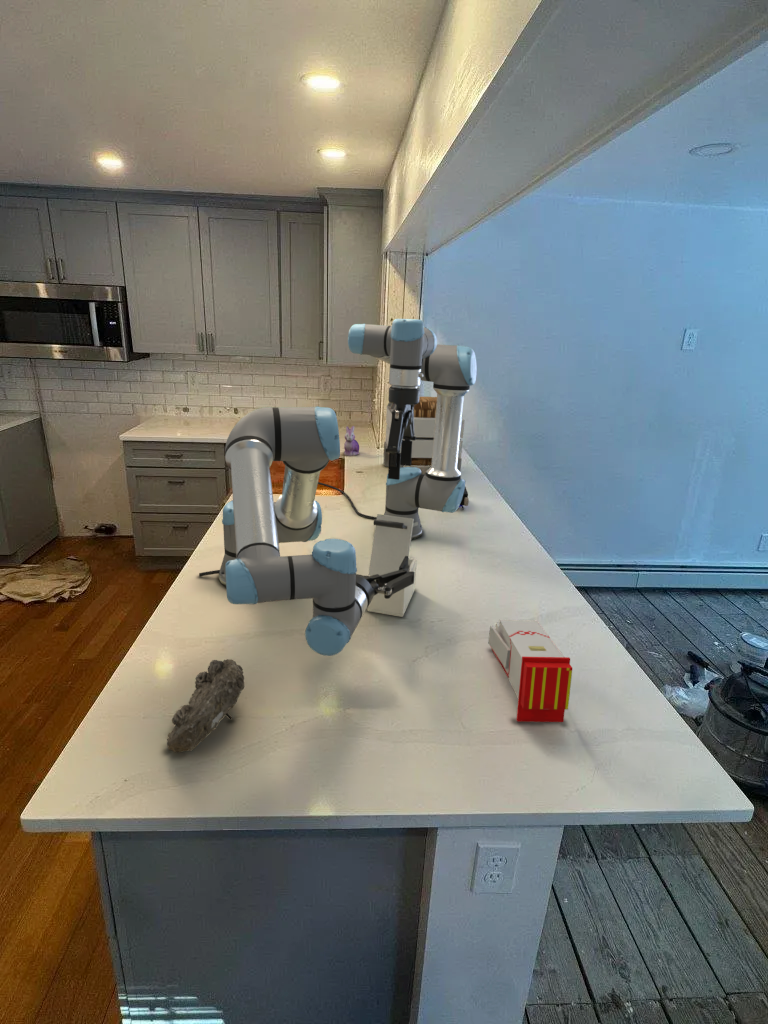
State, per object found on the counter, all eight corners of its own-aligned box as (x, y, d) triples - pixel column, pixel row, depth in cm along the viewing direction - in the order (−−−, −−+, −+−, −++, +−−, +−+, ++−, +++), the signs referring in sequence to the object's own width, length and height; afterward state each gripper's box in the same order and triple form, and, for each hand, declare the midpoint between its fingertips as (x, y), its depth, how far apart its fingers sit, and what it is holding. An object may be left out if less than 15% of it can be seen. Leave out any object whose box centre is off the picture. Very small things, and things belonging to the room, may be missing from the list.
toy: (535, 605, 135) (581, 664, 106) (530, 657, 138) (574, 728, 108) (484, 604, 135) (517, 662, 105) (480, 656, 137) (511, 727, 108)
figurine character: (468, 514, 225) (463, 498, 239) (470, 497, 222) (465, 482, 235) (451, 514, 225) (447, 498, 238) (453, 497, 222) (449, 481, 235)
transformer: (382, 463, 289) (386, 382, 275) (445, 464, 293) (451, 384, 279) (390, 482, 257) (394, 392, 243) (460, 483, 261) (468, 394, 247)
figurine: (347, 456, 298) (347, 428, 293) (339, 452, 307) (339, 424, 302) (363, 455, 303) (364, 427, 298) (355, 450, 311) (356, 423, 306)
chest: (382, 585, 162) (383, 554, 159) (414, 590, 160) (416, 559, 157) (367, 611, 148) (368, 577, 145) (402, 617, 146) (404, 583, 143)
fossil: (192, 660, 117) (244, 628, 112) (224, 691, 120) (276, 661, 115) (142, 746, 98) (202, 712, 93) (182, 779, 101) (242, 748, 96)
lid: (378, 514, 146) (370, 511, 138) (413, 519, 144) (408, 516, 136) (369, 575, 145) (361, 575, 137) (405, 580, 143) (399, 581, 135)
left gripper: (291, 606, 115) (326, 564, 135) (411, 626, 110) (430, 579, 129) (290, 573, 113) (326, 535, 132) (413, 592, 107) (432, 549, 127)
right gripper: (409, 394, 124) (403, 487, 131) (429, 382, 147) (423, 461, 154) (376, 391, 126) (372, 483, 133) (400, 379, 148) (396, 458, 156)
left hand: (377, 557), depth 131 cm, fingers open, 13 cm apart
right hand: (399, 471), depth 143 cm, fingers open, 13 cm apart
